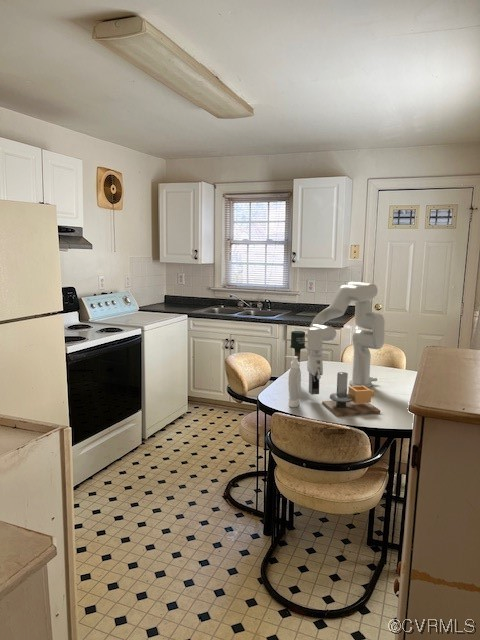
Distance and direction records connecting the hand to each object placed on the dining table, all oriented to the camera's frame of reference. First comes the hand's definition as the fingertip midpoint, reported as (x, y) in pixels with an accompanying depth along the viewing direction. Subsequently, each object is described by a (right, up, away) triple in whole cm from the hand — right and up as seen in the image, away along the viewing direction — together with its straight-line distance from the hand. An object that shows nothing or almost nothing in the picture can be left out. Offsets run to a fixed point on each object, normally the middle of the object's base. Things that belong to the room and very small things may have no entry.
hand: (314, 386), depth 240 cm
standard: (+11, -8, -11) cm, 18 cm away
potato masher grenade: (-5, -3, +32) cm, 33 cm away
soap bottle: (-12, -8, -4) cm, 15 cm away
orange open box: (+22, -5, -9) cm, 25 cm away
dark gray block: (0, -3, +1) cm, 3 cm away
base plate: (+16, -9, -10) cm, 21 cm away
